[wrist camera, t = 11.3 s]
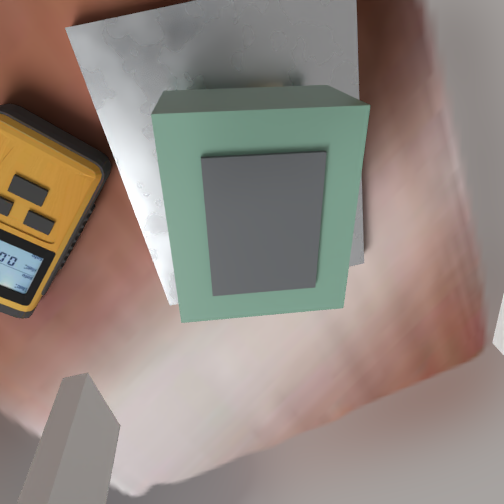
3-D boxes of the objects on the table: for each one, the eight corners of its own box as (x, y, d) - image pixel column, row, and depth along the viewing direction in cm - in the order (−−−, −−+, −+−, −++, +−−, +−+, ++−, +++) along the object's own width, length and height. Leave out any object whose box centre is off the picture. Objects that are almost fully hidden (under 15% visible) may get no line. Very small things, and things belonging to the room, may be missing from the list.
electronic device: (121, 158, 29) (113, 172, 26) (44, 301, 35) (30, 326, 32) (4, 92, 26) (-19, 100, 23) (-60, 261, 32) (-86, 285, 29)
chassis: (70, 27, 24) (48, 28, 21) (348, -31, 24) (374, -41, 21) (170, 297, 36) (167, 328, 32) (359, 256, 36) (377, 282, 32)
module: (163, 90, 23) (150, 115, 17) (327, 84, 24) (373, 106, 17) (185, 261, 29) (181, 326, 23) (314, 251, 30) (344, 311, 24)
